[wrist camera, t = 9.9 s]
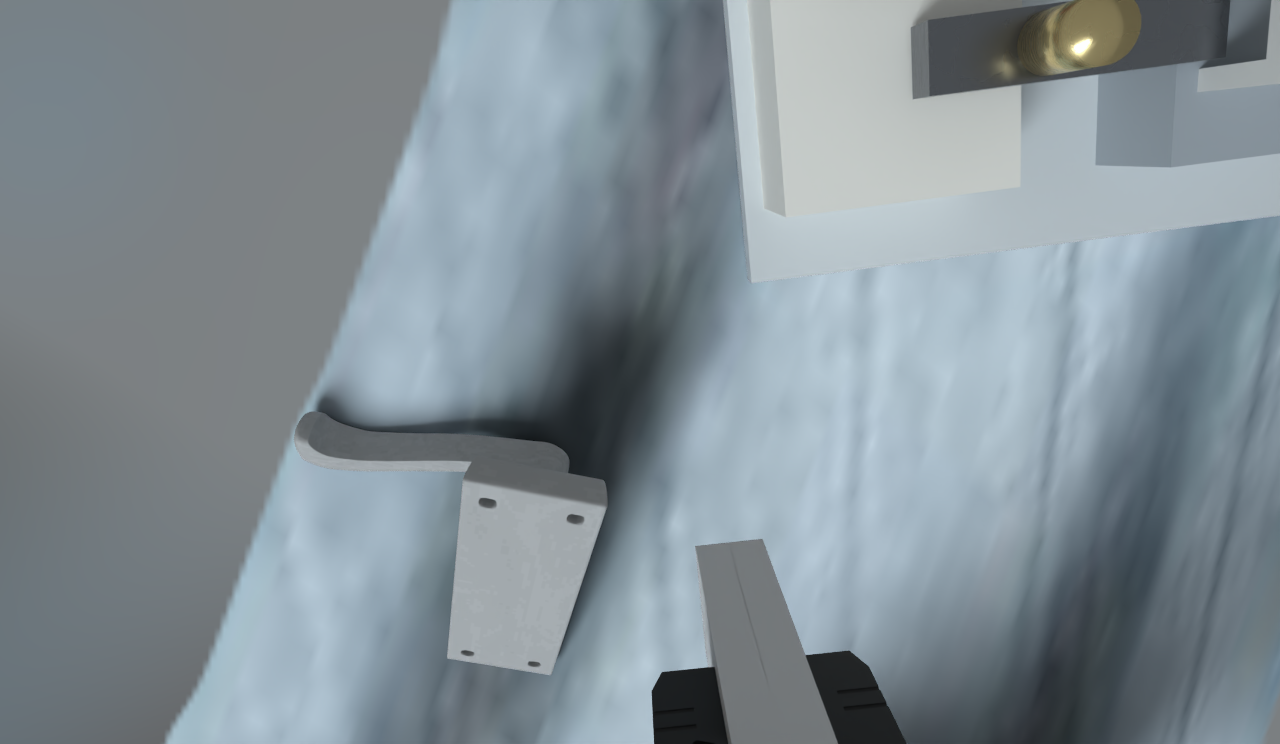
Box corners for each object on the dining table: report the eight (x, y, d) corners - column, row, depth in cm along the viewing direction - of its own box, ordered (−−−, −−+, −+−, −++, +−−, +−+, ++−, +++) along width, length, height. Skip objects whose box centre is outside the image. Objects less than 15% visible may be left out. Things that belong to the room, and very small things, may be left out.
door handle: (568, 566, 56) (622, 383, 42) (551, 676, 51) (607, 507, 36) (321, 522, 54) (291, 315, 40) (275, 631, 49) (221, 435, 35)
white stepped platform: (1270, 211, 44) (1501, 233, 33) (747, 279, 45) (791, 323, 33) (1309, -193, 39) (1603, -341, 27) (713, -112, 39) (750, -223, 28)
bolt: (1192, 62, 35) (1306, 44, 29) (912, 99, 35) (970, 88, 29) (1197, -11, 34) (1315, -45, 28) (910, 27, 34) (969, 1, 28)
